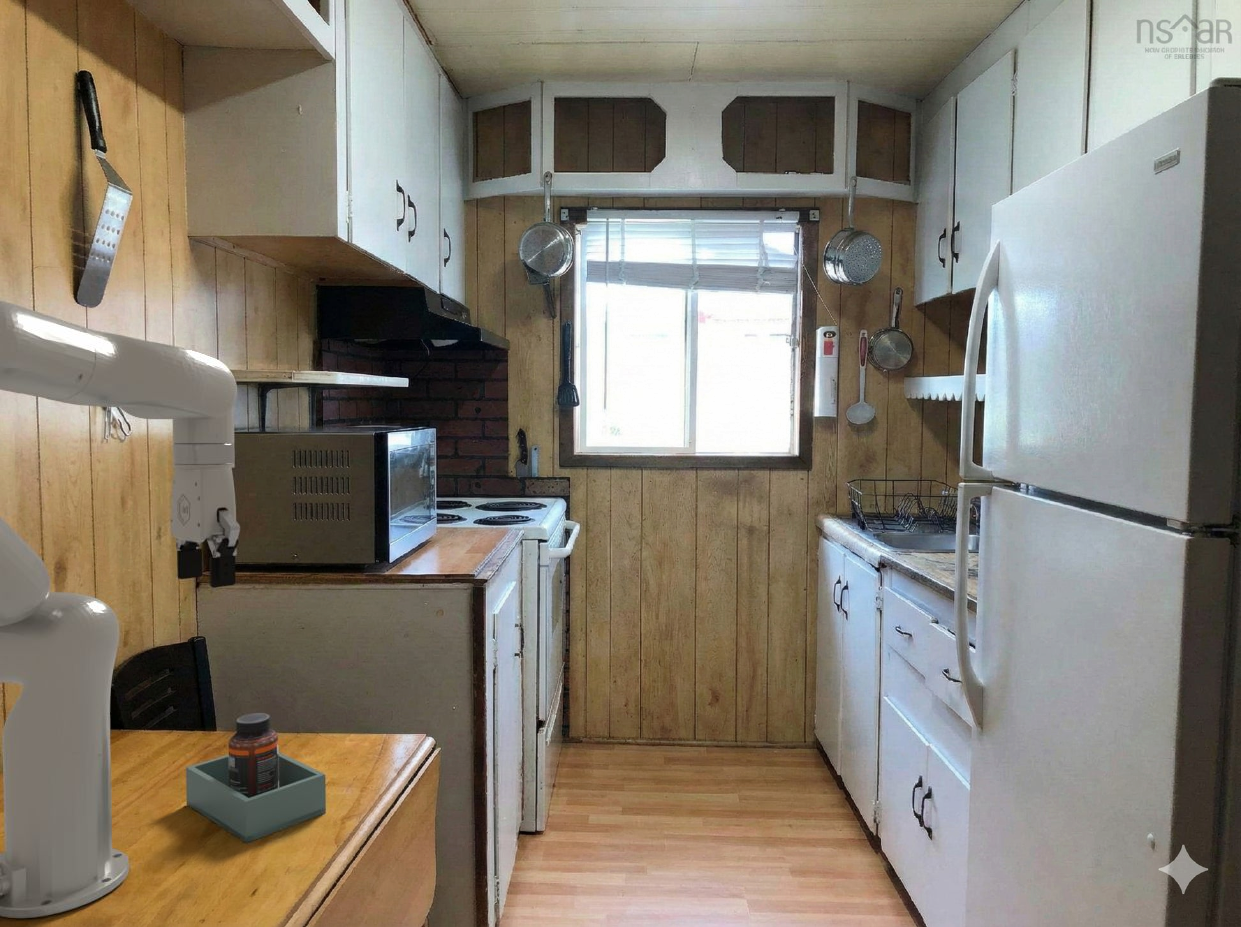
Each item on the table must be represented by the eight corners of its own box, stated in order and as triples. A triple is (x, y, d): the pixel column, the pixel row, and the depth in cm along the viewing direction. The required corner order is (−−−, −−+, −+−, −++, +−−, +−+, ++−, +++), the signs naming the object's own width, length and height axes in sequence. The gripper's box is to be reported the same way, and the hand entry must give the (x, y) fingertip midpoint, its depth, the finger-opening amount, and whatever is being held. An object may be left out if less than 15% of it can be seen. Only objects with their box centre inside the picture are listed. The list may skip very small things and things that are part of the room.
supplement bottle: (288, 795, 111) (287, 711, 110) (264, 815, 105) (263, 726, 104) (245, 793, 111) (244, 709, 111) (219, 813, 105) (218, 724, 105)
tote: (246, 843, 99) (245, 801, 99) (186, 805, 109) (186, 767, 109) (325, 812, 107) (325, 774, 107) (263, 779, 117) (262, 744, 117)
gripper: (148, 456, 116) (150, 578, 117) (205, 459, 105) (207, 593, 106) (203, 455, 122) (205, 571, 123) (262, 458, 111) (264, 585, 112)
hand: (206, 581), depth 114 cm, fingers open, 9 cm apart
